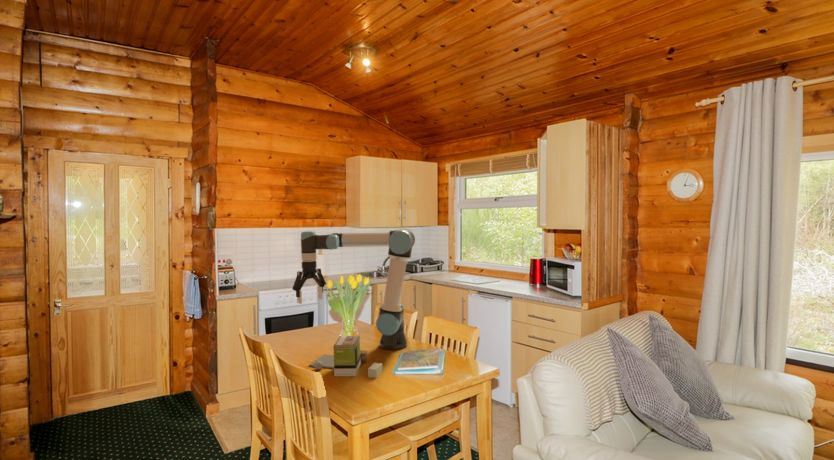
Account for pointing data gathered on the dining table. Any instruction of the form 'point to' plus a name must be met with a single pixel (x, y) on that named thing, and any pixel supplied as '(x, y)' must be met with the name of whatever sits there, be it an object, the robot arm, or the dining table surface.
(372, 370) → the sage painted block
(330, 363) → the slate trivet
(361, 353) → the walnut cube
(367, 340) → the dining table surface
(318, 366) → the grey rubber ball
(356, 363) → the tea box
